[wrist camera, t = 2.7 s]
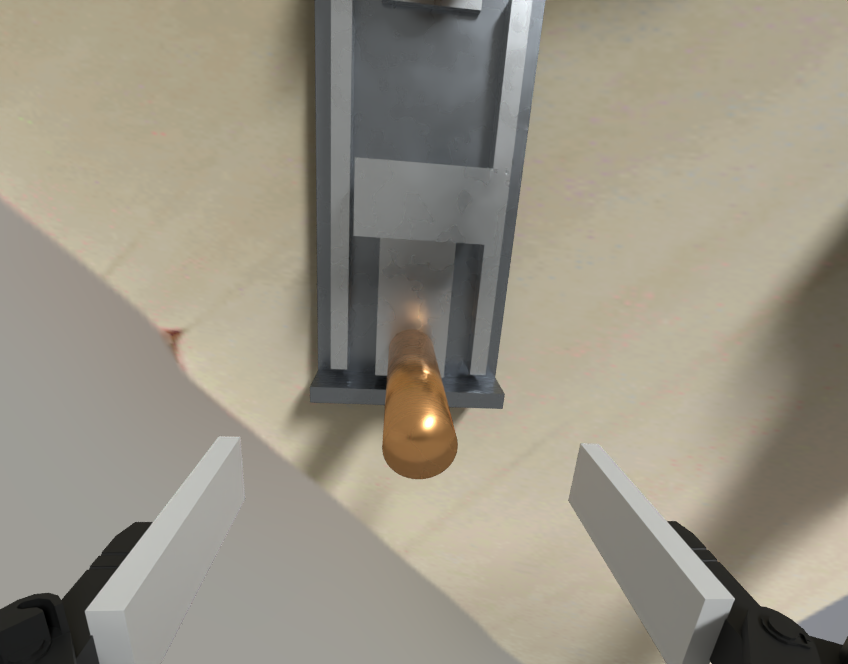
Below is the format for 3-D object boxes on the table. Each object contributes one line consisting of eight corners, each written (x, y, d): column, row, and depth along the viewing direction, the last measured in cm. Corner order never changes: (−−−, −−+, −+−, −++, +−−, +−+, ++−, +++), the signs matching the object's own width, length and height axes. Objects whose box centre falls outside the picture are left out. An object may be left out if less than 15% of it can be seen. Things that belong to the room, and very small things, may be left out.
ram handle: (364, 168, 26) (329, 126, 13) (476, 177, 27) (554, 146, 14) (359, 363, 30) (329, 485, 17) (457, 368, 31) (502, 488, 18)
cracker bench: (319, -212, 22) (270, -474, 14) (558, -175, 23) (651, -395, 15) (322, 374, 33) (296, 432, 24) (487, 380, 34) (518, 438, 25)
